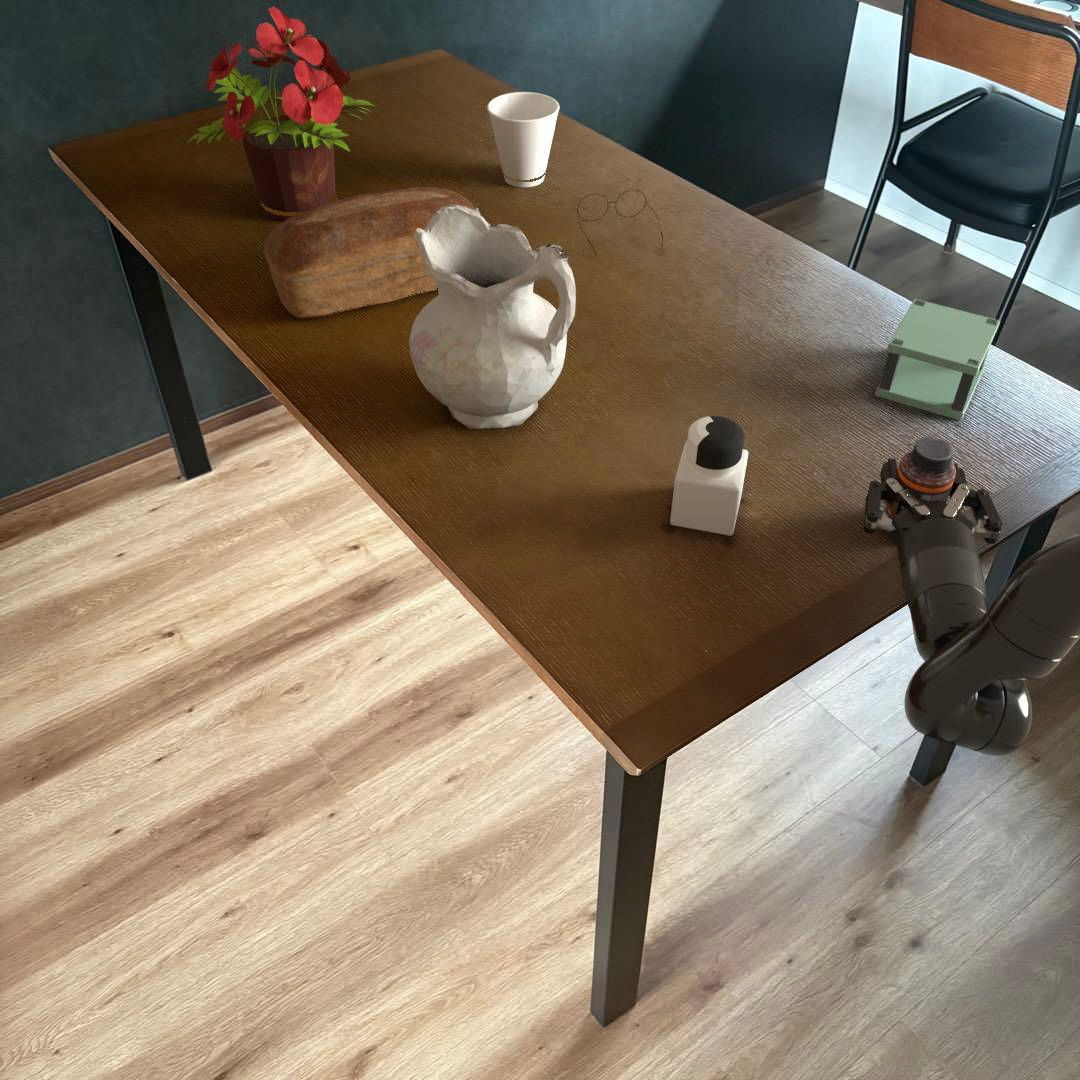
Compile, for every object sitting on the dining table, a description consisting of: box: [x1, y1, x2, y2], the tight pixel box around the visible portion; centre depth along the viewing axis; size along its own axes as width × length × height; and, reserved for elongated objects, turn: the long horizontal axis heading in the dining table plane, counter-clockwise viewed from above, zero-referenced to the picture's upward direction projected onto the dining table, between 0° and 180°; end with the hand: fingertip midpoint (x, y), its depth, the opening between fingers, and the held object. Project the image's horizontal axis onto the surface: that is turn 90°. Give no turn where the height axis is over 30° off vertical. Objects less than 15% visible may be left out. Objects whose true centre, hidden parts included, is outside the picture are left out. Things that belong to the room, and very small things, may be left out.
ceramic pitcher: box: [408, 204, 577, 430], centre depth 130 cm, size 22×20×25 cm
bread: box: [263, 186, 476, 320], centre depth 154 cm, size 12×31×14 cm, turn 114°
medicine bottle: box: [669, 415, 749, 537], centre depth 120 cm, size 7×7×12 cm
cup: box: [486, 91, 561, 188], centre depth 180 cm, size 12×12×12 cm
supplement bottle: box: [884, 436, 956, 519], centre depth 118 cm, size 6×6×11 cm
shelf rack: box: [874, 298, 1001, 421], centre depth 138 cm, size 11×12×8 cm
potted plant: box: [186, 6, 378, 222], centre depth 169 cm, size 30×27×30 cm
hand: (920, 467), depth 119 cm, fingers closed on supplement bottle, 6 cm apart
